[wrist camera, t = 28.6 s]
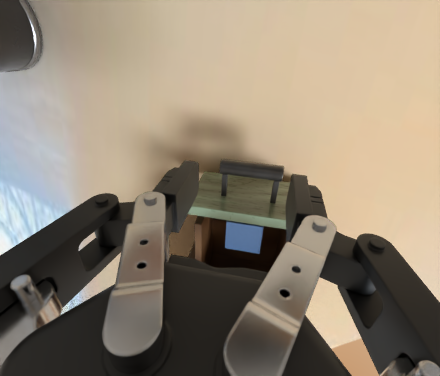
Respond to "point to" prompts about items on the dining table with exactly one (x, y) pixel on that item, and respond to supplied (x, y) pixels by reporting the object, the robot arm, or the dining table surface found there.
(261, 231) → the block
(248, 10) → the dining table surface
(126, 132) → the dining table surface
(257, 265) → the drawer
